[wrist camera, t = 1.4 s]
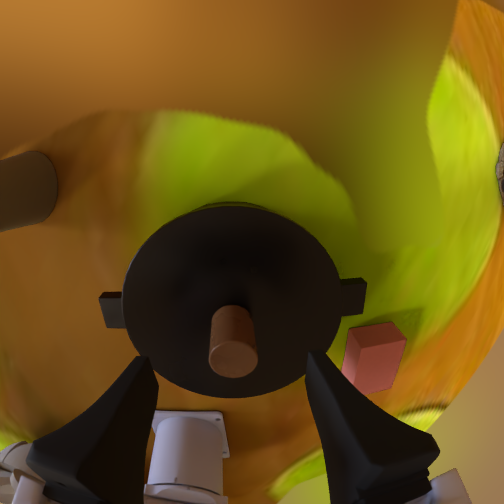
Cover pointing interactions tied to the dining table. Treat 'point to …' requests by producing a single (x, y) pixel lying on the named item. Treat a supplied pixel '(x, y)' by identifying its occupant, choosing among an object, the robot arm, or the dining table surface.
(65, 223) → the dining table surface
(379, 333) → the reddish pink block
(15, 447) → the decorative bowl
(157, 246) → the pan lid
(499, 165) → the bread roll
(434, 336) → the dining table surface
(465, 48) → the dining table surface
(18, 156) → the cork
